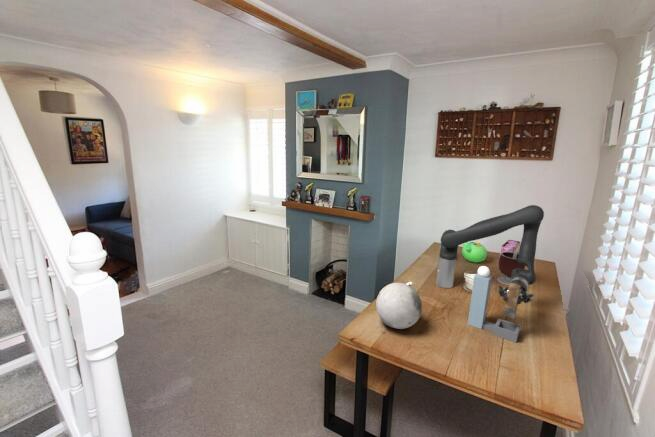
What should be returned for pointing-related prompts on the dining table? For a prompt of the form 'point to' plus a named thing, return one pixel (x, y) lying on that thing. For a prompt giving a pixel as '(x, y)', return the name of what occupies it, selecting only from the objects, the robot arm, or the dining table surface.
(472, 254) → the green rounded lump
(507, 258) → the mate gourd
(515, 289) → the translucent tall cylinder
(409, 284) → the bull figurine
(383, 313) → the moon model
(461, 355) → the dining table surface
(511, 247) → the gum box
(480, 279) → the post
